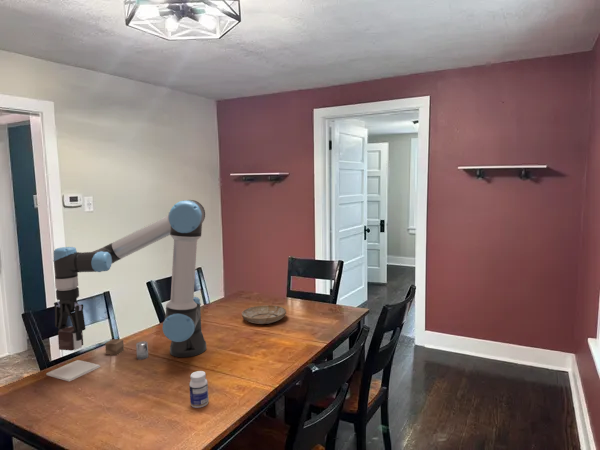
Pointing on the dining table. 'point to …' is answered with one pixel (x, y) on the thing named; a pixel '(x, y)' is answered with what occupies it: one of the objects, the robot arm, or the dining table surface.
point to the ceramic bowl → (263, 314)
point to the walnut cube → (114, 347)
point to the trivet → (73, 370)
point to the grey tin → (142, 350)
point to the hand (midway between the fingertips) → (71, 346)
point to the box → (67, 338)
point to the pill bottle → (198, 389)
